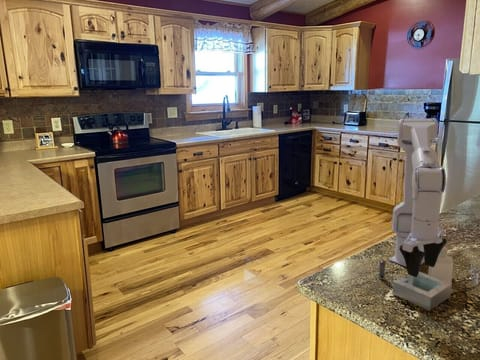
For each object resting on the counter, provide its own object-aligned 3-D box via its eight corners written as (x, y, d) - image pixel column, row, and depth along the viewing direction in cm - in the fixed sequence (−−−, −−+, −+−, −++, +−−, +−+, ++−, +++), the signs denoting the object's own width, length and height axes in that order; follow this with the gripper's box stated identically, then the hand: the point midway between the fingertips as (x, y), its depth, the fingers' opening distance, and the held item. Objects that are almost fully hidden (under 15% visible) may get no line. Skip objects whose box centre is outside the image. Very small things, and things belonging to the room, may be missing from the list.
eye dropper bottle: (448, 290, 100) (452, 248, 97) (425, 283, 103) (429, 243, 101) (453, 283, 103) (457, 243, 100) (431, 277, 106) (434, 238, 104)
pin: (380, 275, 109) (381, 259, 107) (386, 278, 107) (387, 261, 106) (377, 277, 108) (377, 261, 106) (382, 280, 106) (383, 263, 105)
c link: (413, 281, 104) (414, 269, 103) (450, 296, 96) (451, 283, 95) (392, 293, 98) (393, 281, 98) (429, 310, 90) (430, 297, 90)
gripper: (425, 230, 81) (420, 286, 85) (458, 214, 89) (453, 267, 93) (395, 221, 87) (392, 274, 90) (429, 208, 95) (425, 257, 98)
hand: (421, 270), depth 92 cm, fingers open, 7 cm apart
